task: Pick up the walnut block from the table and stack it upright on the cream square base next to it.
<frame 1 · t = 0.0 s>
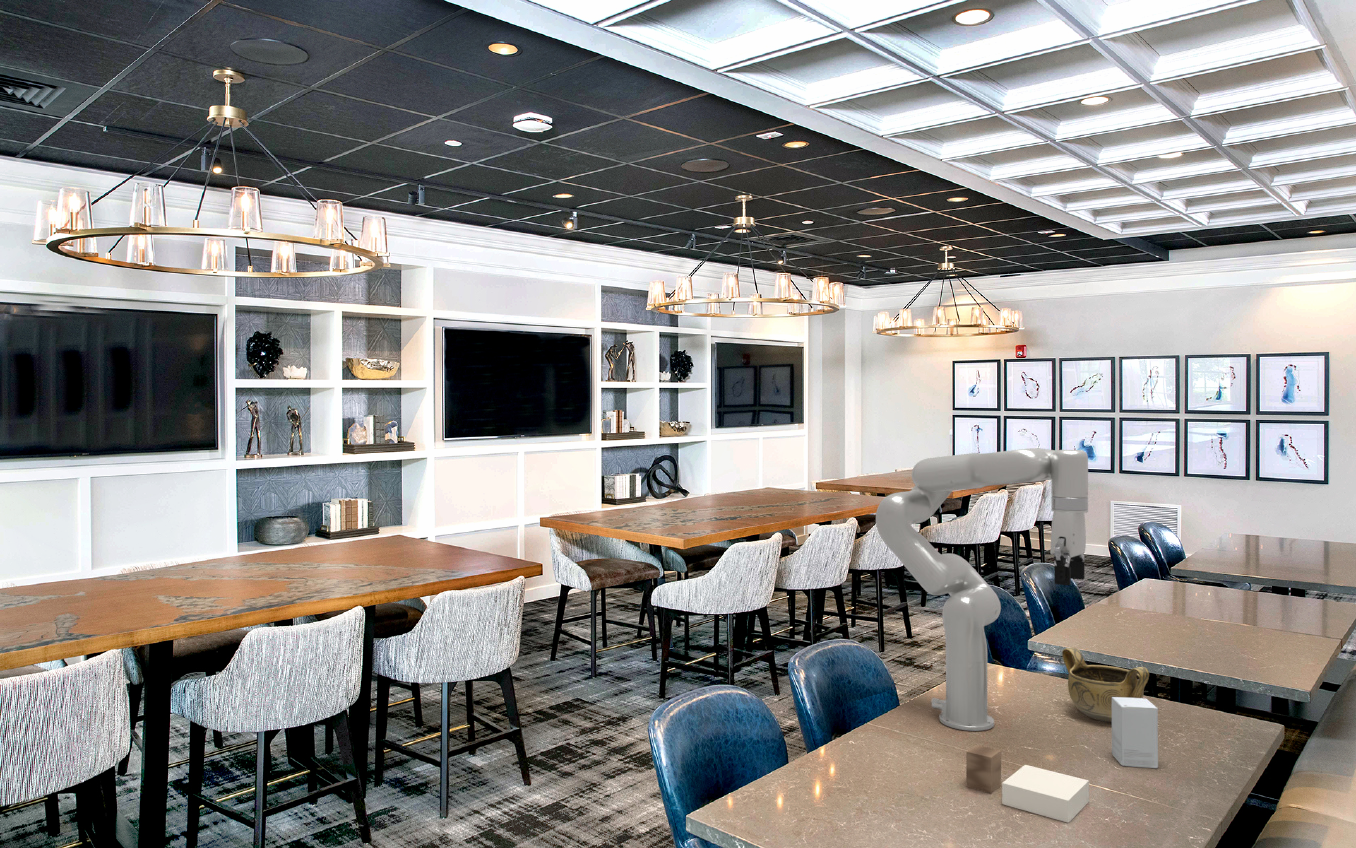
hand: (1069, 581, 197), 37 cm above the table, tool pointing down, fingers open, 9 cm apart
base: (1045, 803, 167), on the table
supplement box: (1134, 762, 188), on the table
ceramic bowl: (1105, 718, 216), on the table
walnut block: (983, 786, 175), on the table
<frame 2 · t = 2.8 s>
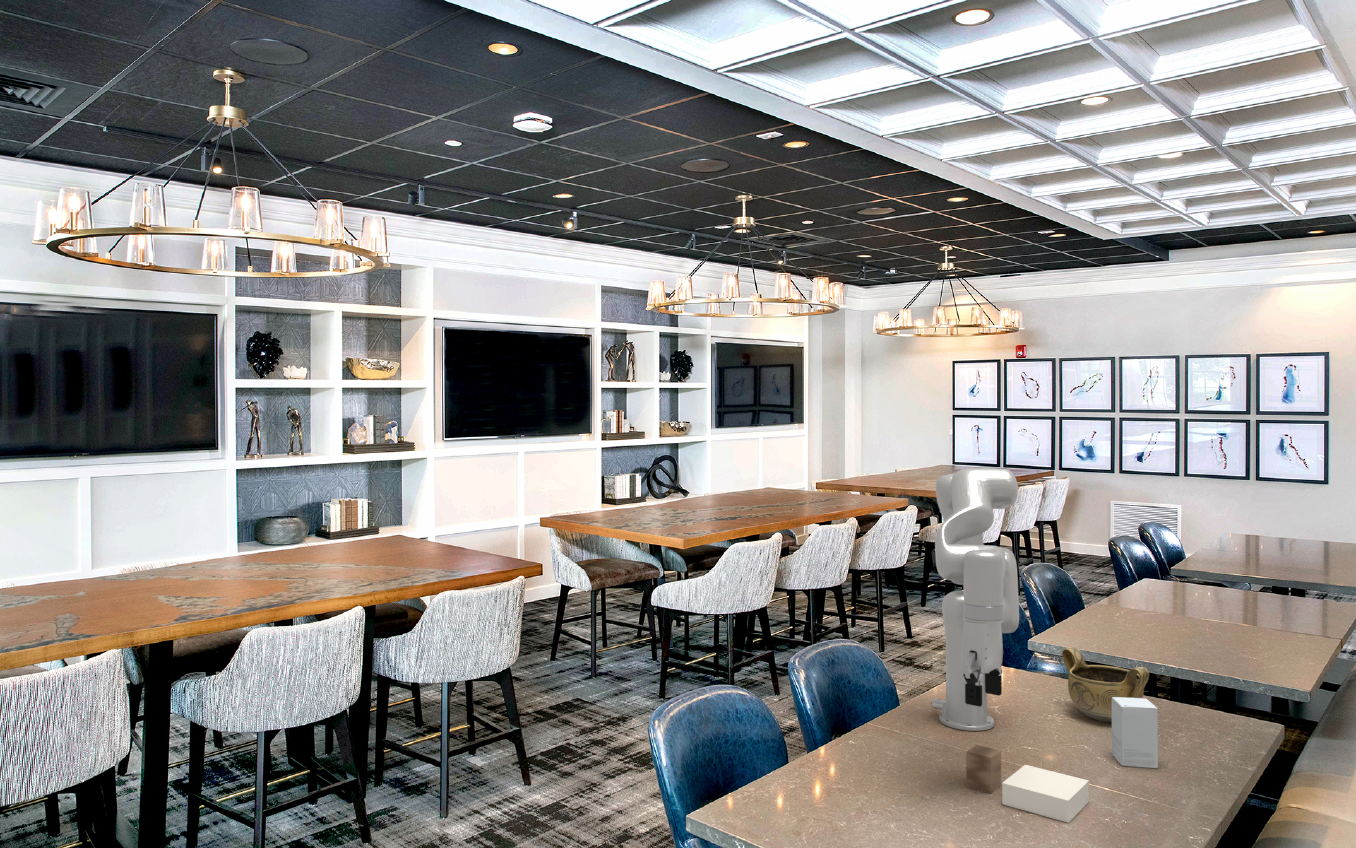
hand: (983, 699, 175), 17 cm above the table, tool pointing down, fingers open, 9 cm apart
nothing on the table moved.
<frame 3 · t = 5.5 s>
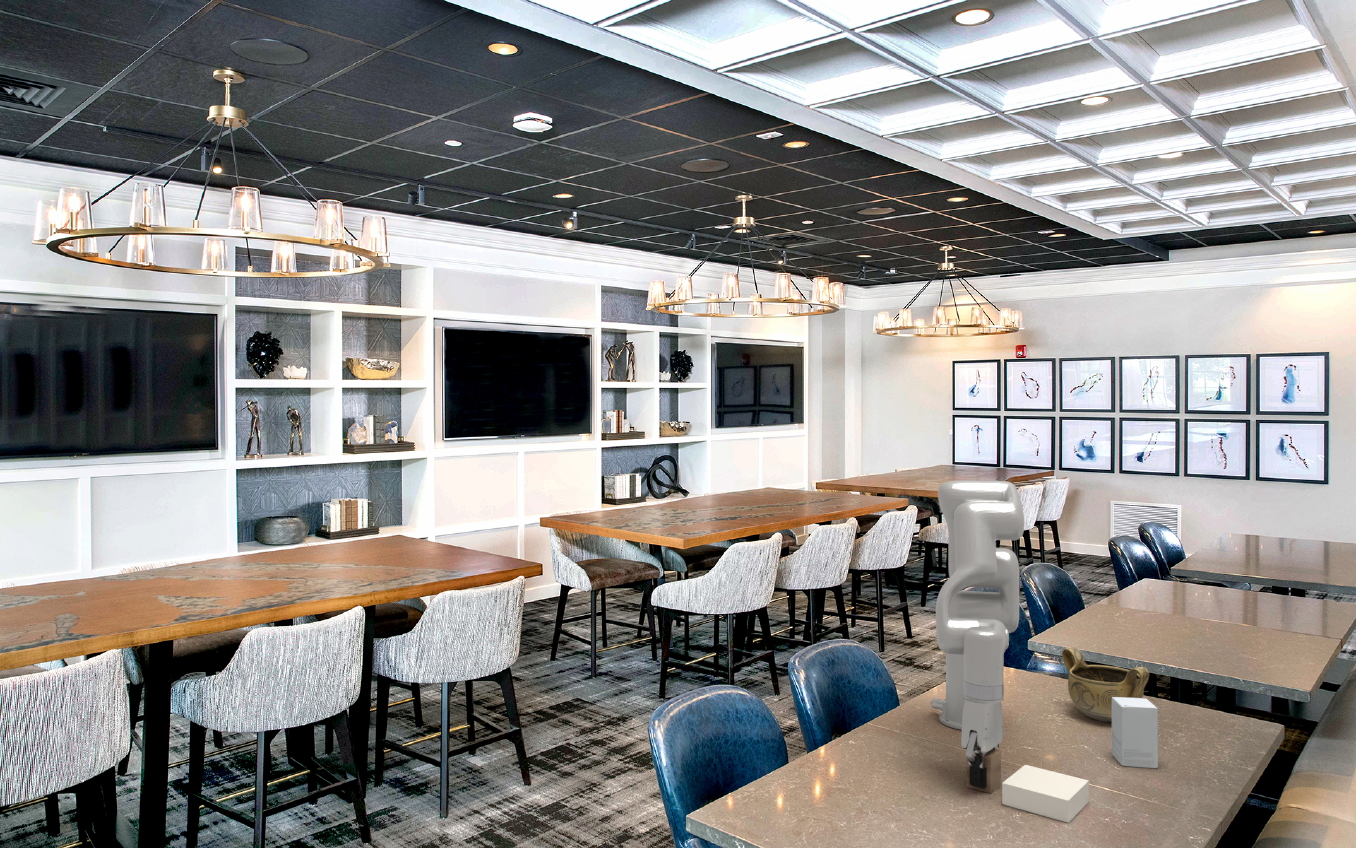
hand: (983, 781, 175), 1 cm above the table, tool pointing down, fingers closed on walnut block, 5 cm apart
walnut block: (983, 786, 175), on the table, touching gripper
everything else where it was.
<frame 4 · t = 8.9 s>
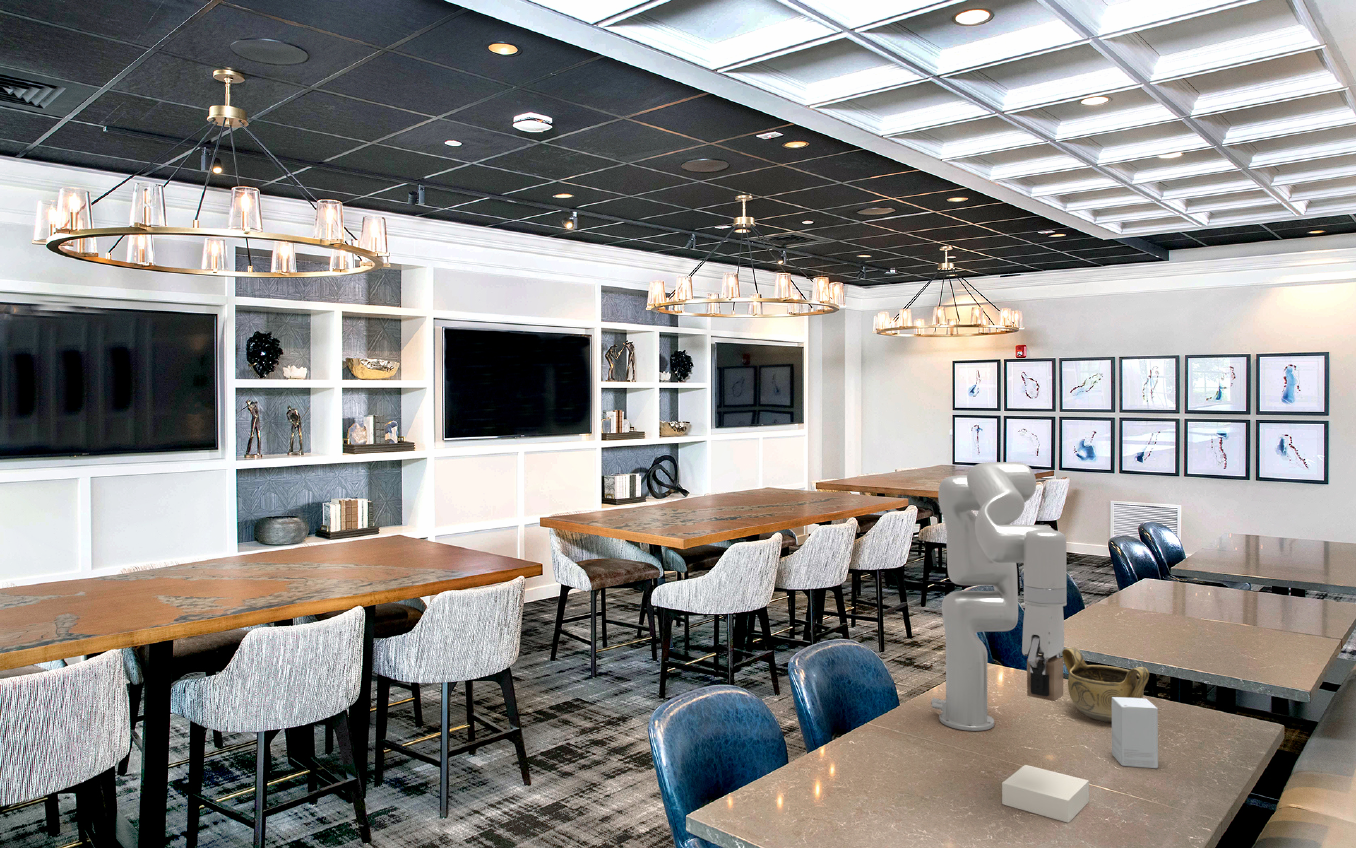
hand: (1045, 690, 167), 21 cm above the table, tool pointing down, fingers closed on walnut block, 5 cm apart
walnut block: (1045, 695, 167), point 20 cm above the table, touching gripper
everything else where it was.
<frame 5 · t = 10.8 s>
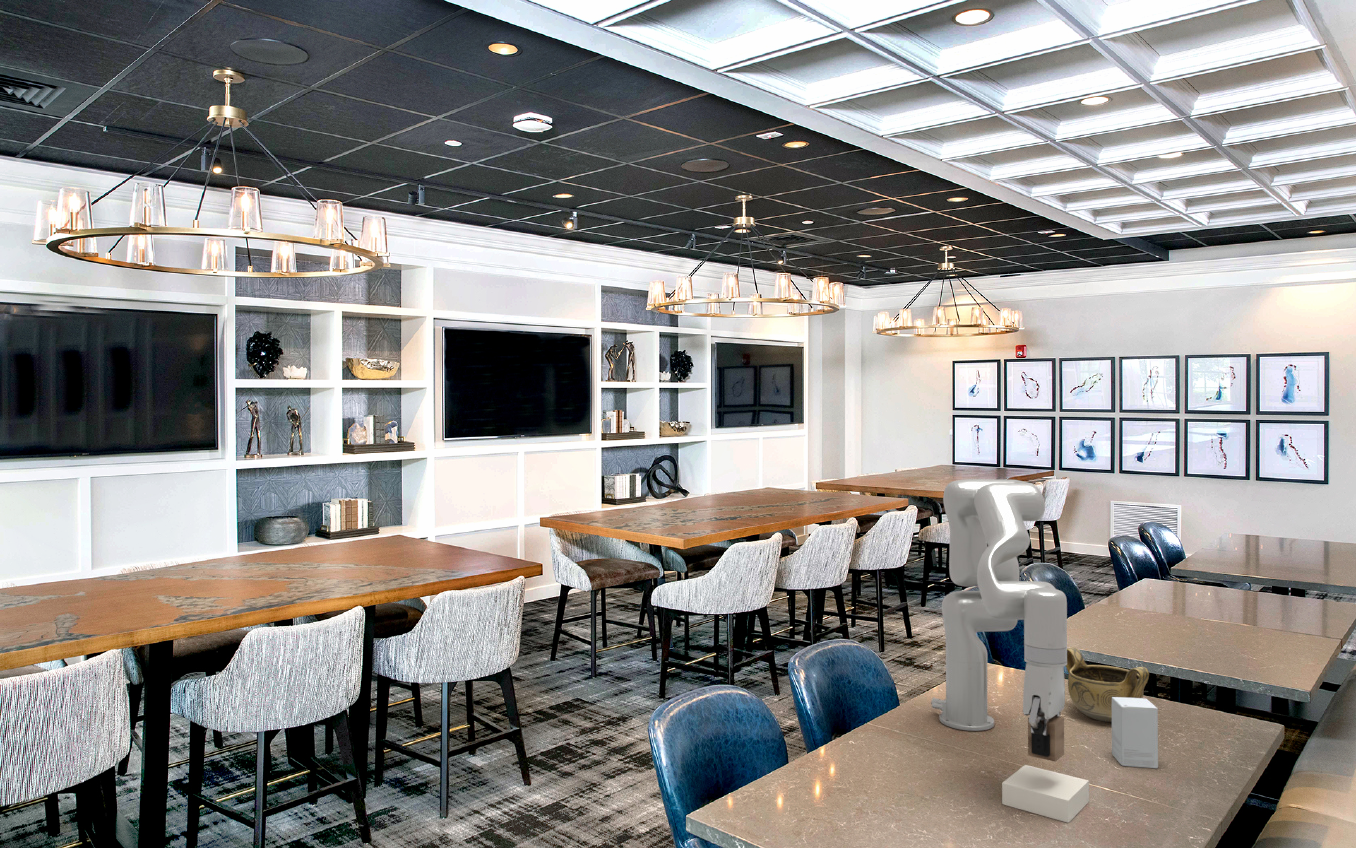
hand: (1046, 749, 167), 10 cm above the table, tool pointing down, fingers closed on walnut block, 5 cm apart
walnut block: (1046, 755, 167), point 9 cm above the table, touching gripper
everything else where it was.
when the fingers open (6 cm above the table, at t = 12.4 s): walnut block drops 1 cm, resting on base.
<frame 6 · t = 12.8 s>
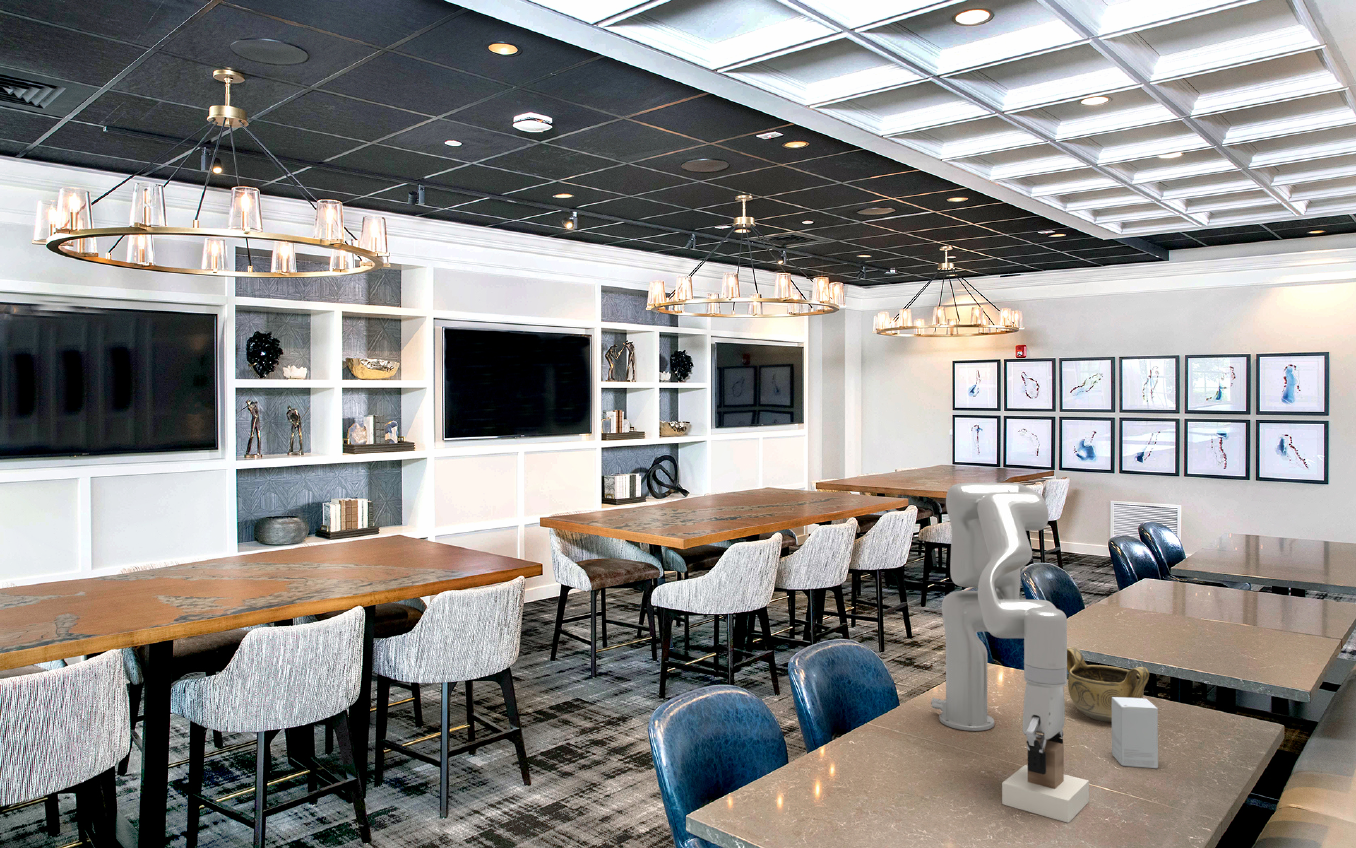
hand: (1045, 765, 167), 7 cm above the table, tool pointing down, fingers open, 9 cm apart
walnut block: (1045, 781, 167), point 4 cm above the table, touching base
everything else where it was.
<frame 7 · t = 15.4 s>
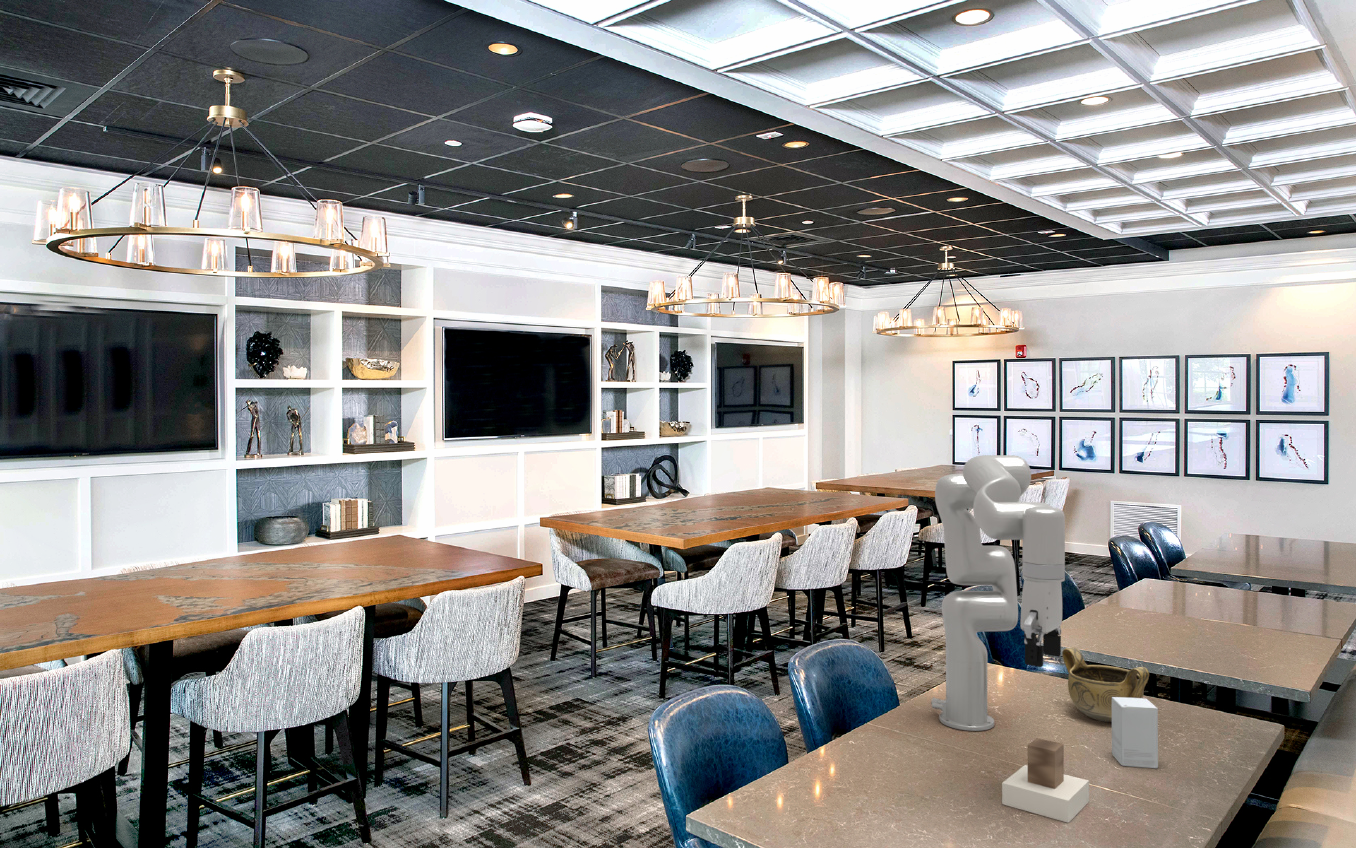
hand: (1043, 660, 170), 26 cm above the table, tool pointing down, fingers open, 9 cm apart
nothing on the table moved.
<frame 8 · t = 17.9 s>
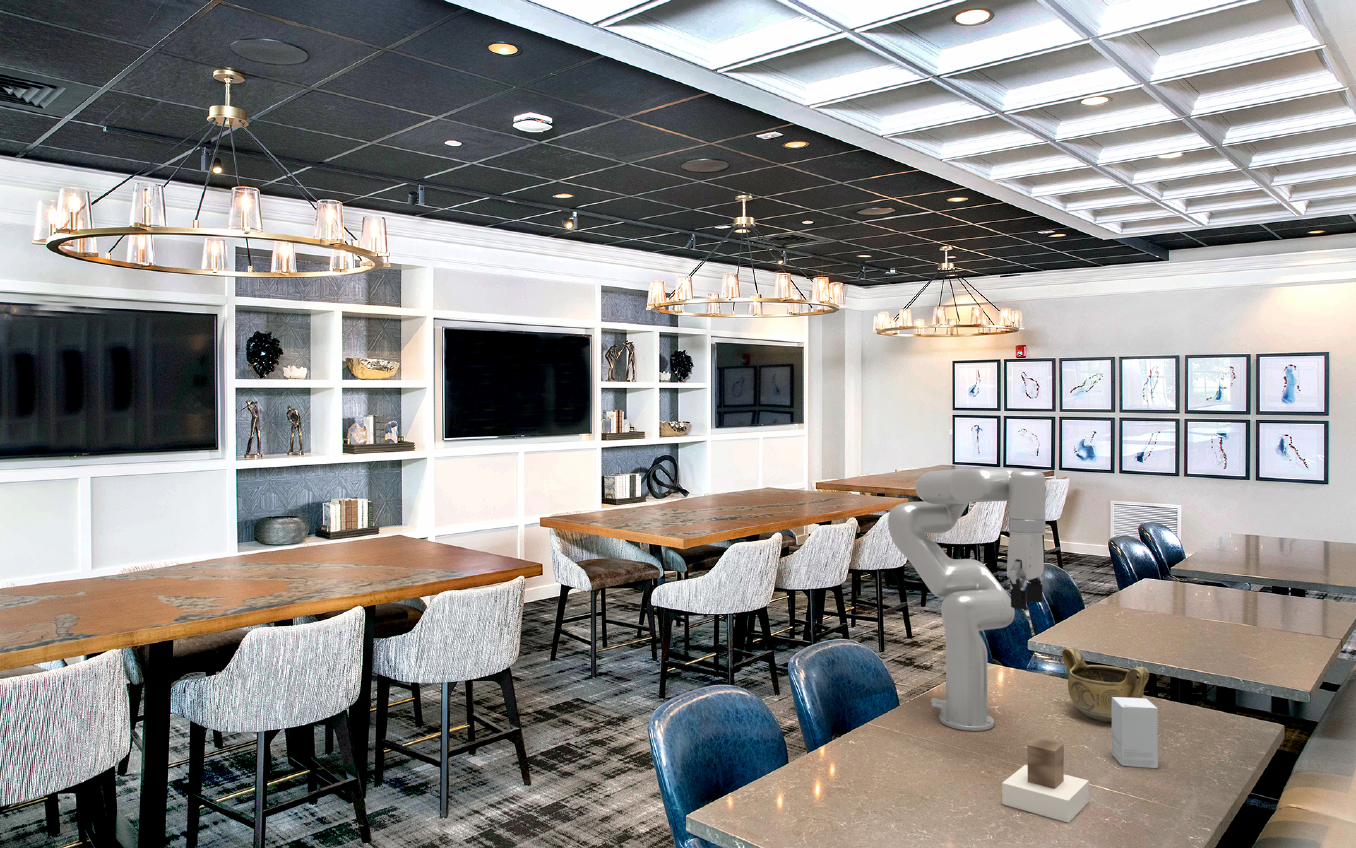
hand: (1027, 604, 193), 32 cm above the table, tool pointing down, fingers open, 9 cm apart
nothing on the table moved.
at the end: walnut block inside the target area on the base (0.1 cm from its centre), point 4.0 cm above the base's base; walnut block tilted 0°; the gripper is holding nothing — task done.
